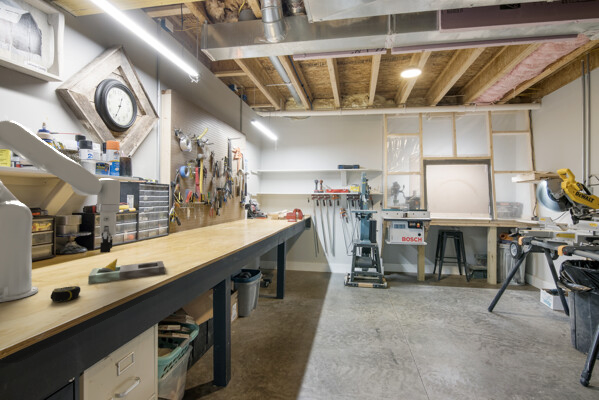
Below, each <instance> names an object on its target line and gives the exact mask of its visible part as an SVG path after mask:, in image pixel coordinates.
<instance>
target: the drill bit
mask: <svg viewBox="0 0 599 400" xmlns="http://www.w3.org/2000/svg"><path fill="white" fill-rule="evenodd" d="M117 262H118V258H116V259H114V260H113V261H111V262H110V263H109V264H106V266H105V268H104V267H101V268H102V269H101V270H100V273H106V272H114V271H115V268H116V266H117V264H118V263H117Z"/></svg>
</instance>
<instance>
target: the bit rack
mask: <svg viewBox="0 0 599 400" xmlns="http://www.w3.org/2000/svg"><path fill="white" fill-rule="evenodd" d="M105 267H106V266H105ZM105 267H98V268H97V267H96V268H95V267H94V268H92V269H91V271H90V273H89V275H88V278H87V279H88V283H87V284H88V285H90V284H96V283H97V284H98V283H103V282H111V281H119V280H127V279H133V278H142V277H149V276H156V275H164V274H165V272H166V269H165V264H164V262H163V261H162V260H160V261H152V262H151V261H150V262H141V263H133V264H132V263H131V264H124V265H123V264H122V265H116V268H115V271H114V272H106V273H100V270H101V269H102V268H105Z"/></svg>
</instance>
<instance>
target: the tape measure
mask: <svg viewBox="0 0 599 400" xmlns="http://www.w3.org/2000/svg"><path fill="white" fill-rule="evenodd" d="M80 293H81V287H80V286H79V285H77V286H75V285H73V286H71V285H70V286H65V287H58V288H54V289H53V290H52V293H51V294H50V299H51V300H52V301H53V302H56V303H57V302H69V301H70V300H74V299H76V298H78V297H79V296H80Z"/></svg>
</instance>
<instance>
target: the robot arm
mask: <svg viewBox="0 0 599 400" xmlns="http://www.w3.org/2000/svg"><path fill="white" fill-rule="evenodd" d="M0 150H8V151H10V152H12V153H13V154H15V155H16V156H18V157H20V158H21V159H23V160H24V161H26V162H27V163H28V164H31V166H33V167H34V168H36V169H38V170H40V171H42V172H45V173H48V174H51V175H53V176H54V177H57V178H59V179H61V180H62V181H63V182H65V183H67V184H68V185H70V186H71V189H72V192H74V193H75V194H76V195H79V196H82V197H84V196H85V197H87V196H89V197H90V196H91V197H92V196H97V197H96V213H99V237H100V238H101V239H100V246H99V248H100V249H99V253H101V254H103V253H110V252H111V249H113V237H116V235H117V213H120V203H121V202H120V201H121V199H120V198H121V181H119V180H118V179H117V178H116V179H115V178H100V179H99V178H98V177H97V176H96V175H95V174H93V173H92V172H91V171H90V170H88V169H87V168H85V167H84V166H82V165H81V164H79V163H78V162H76V161H74V160H73V159H71V158H70V157H68V156H66V155H65V154H63V153H61V152H60V151H58V150H57V149H55V148H54V147H53V146H52V145H50V144H48V143H47V142H46V141H45V140H43V139H41V138H40V137H39V136H38V135H36V134H35V133H34V132H32V131H31V130H29V129H28V128H26V127H25V126H23V125H22V124H20V123H18V122H16V121H14V120H1V121H0ZM32 228H33V214H32V211H31V209H30V207H28V205H26V204H25V203H22V202H21V201H20V200H19V199H18V198H17V197H16V196H15V195H14V194H13V193H12V191H10V189H8V188H7V187H6V186H5V185H4V182H3V181H2V179H0V303H4V302H10V301H14V300H19V299H23V298H27V297H30V296H33V295H35V294H36V293H38V291H39V287H38V286H34V285H32V284H33V283H32V281H33V280H32V276H33V273H32V272H33V270H32V269H33V267H32V264H33V263H32V262H33V261H32V249H33V248H32V230H33V229H32Z"/></svg>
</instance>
